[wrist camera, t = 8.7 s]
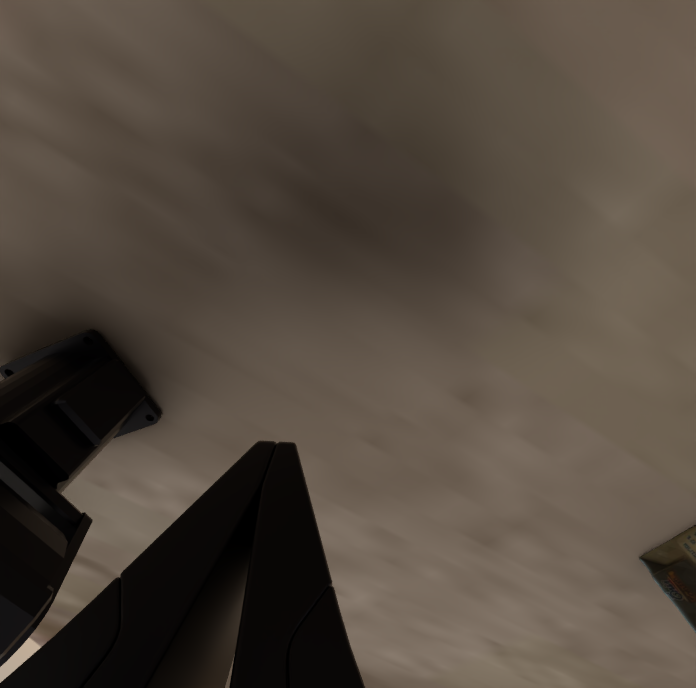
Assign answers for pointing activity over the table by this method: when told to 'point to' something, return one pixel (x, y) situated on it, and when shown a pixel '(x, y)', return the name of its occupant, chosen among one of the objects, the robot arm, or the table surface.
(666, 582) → the beverage carton
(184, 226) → the table surface
